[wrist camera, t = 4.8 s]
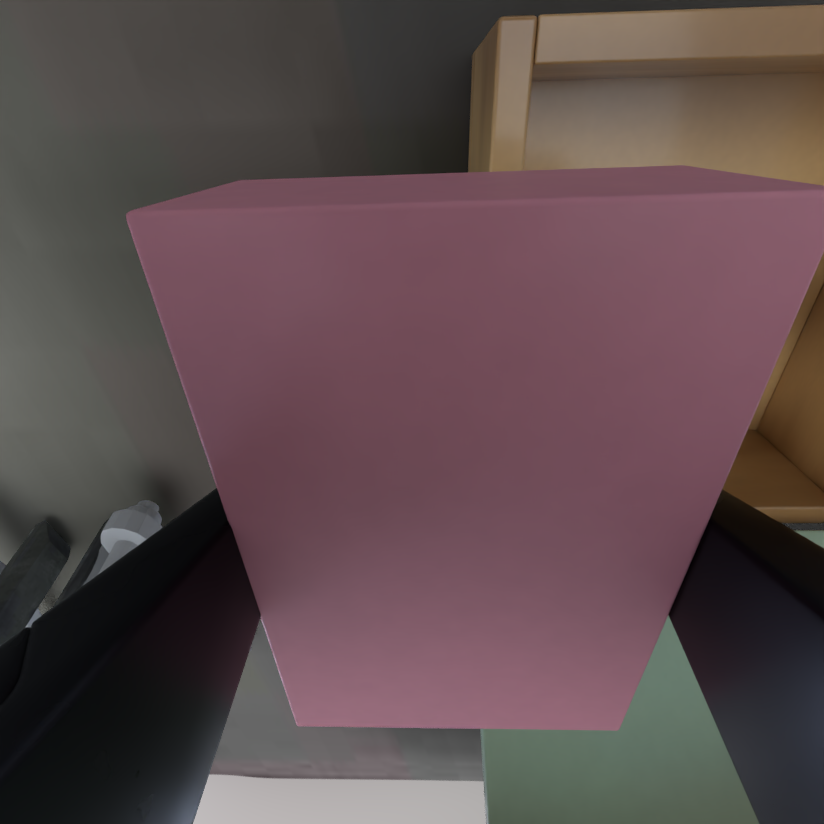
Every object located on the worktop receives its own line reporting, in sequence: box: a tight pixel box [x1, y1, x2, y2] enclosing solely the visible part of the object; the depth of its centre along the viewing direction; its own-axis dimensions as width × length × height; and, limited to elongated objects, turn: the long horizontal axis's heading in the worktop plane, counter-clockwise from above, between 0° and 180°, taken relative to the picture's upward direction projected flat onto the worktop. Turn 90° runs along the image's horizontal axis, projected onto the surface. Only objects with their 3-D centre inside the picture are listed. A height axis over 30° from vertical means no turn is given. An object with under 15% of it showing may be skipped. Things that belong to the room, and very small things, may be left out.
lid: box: [480, 530, 824, 824], centre depth 12 cm, size 15×14×1 cm
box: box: [468, 5, 824, 523], centre depth 15 cm, size 14×14×6 cm
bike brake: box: [0, 500, 252, 651], centre depth 26 cm, size 14×7×20 cm
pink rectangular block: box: [126, 165, 824, 731], centre depth 7 cm, size 6×9×3 cm, turn 2°
